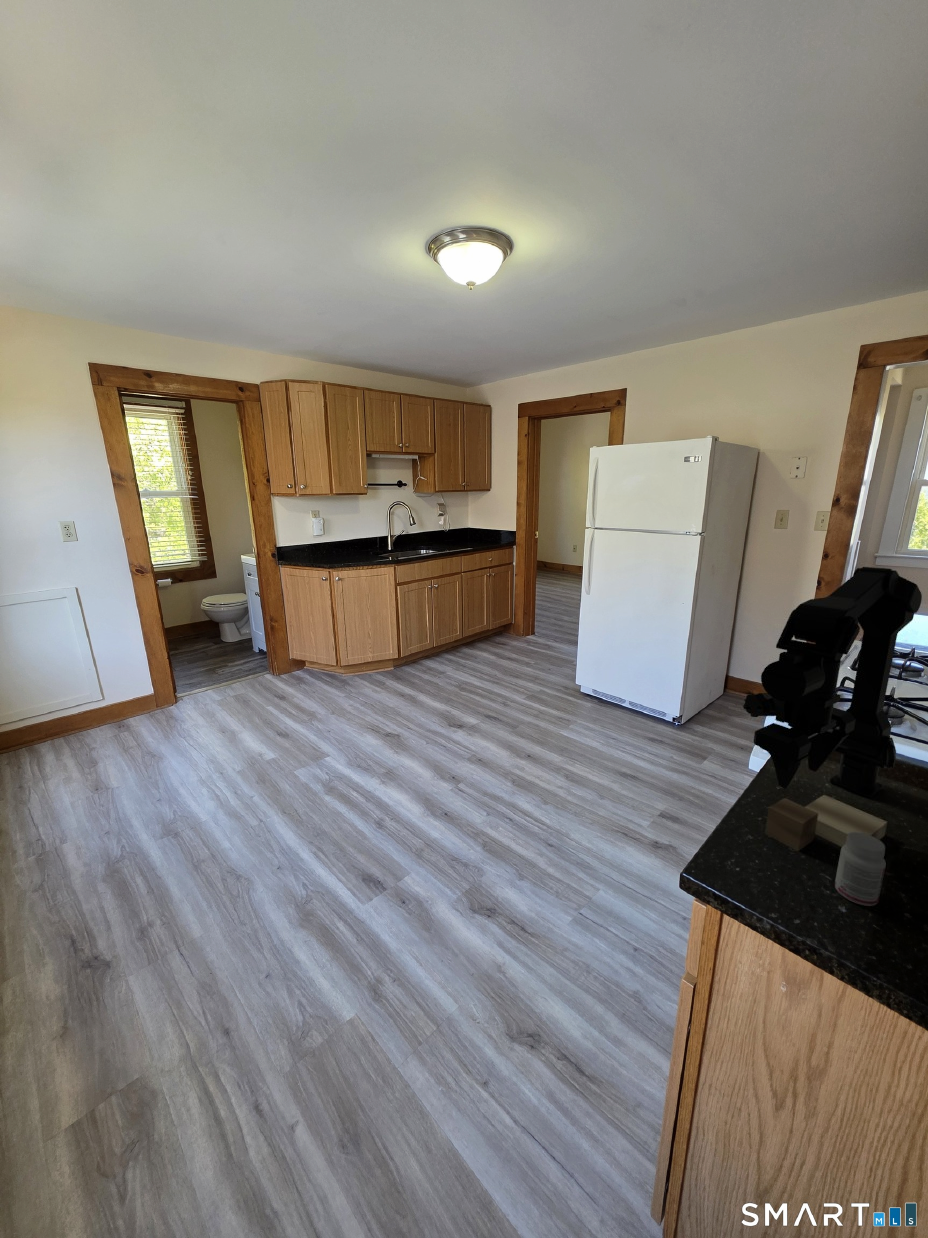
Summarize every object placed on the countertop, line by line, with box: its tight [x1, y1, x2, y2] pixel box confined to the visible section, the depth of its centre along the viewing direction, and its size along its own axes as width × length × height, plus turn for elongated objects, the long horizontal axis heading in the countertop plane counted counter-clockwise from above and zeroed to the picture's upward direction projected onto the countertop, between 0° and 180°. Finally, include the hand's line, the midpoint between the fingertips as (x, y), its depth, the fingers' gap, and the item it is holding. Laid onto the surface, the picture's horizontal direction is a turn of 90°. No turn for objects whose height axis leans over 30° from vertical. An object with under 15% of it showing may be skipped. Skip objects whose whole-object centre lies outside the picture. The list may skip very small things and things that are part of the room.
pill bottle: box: [834, 832, 887, 907], centre depth 66 cm, size 5×5×8 cm
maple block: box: [804, 794, 888, 848], centre depth 79 cm, size 9×9×3 cm
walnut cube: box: [764, 797, 818, 852], centre depth 78 cm, size 5×5×5 cm
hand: (798, 778), depth 76 cm, fingers open, 9 cm apart
